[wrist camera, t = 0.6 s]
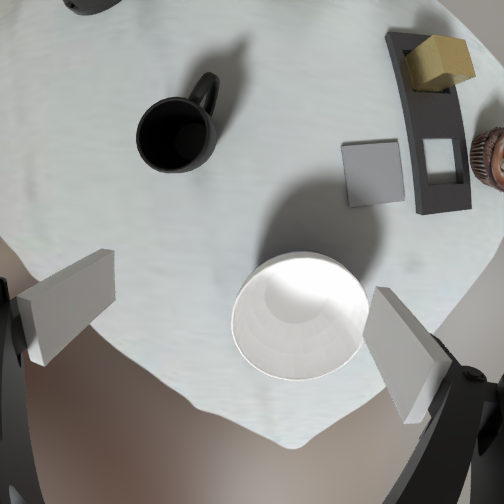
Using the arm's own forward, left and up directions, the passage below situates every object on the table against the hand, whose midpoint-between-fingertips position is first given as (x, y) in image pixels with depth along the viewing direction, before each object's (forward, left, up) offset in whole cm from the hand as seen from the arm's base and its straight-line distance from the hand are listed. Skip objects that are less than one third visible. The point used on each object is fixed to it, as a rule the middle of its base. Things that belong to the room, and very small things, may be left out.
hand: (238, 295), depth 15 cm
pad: (-3, +16, -27) cm, 31 cm away
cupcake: (-5, +37, -27) cm, 46 cm away
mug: (-13, -6, -27) cm, 30 cm away
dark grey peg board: (-10, +26, -27) cm, 39 cm away
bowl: (+12, +3, -27) cm, 30 cm away
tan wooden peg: (-18, +26, -27) cm, 41 cm away
